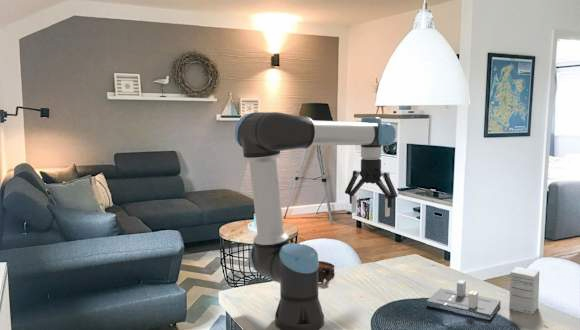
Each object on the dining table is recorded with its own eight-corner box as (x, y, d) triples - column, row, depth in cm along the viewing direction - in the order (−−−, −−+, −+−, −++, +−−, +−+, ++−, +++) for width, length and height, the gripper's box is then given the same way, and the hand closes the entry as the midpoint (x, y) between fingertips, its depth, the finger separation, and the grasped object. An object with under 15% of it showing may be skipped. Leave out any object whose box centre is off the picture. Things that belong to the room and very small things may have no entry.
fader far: (462, 296, 162) (462, 283, 162) (456, 295, 163) (456, 282, 163) (465, 293, 165) (465, 280, 164) (459, 292, 166) (459, 279, 166)
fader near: (474, 308, 152) (475, 294, 152) (468, 307, 153) (468, 293, 153) (477, 305, 155) (478, 291, 154) (471, 303, 156) (471, 290, 156)
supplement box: (514, 302, 163) (516, 266, 162) (538, 307, 158) (540, 270, 157) (508, 309, 157) (509, 271, 156) (533, 315, 153) (534, 276, 151)
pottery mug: (304, 280, 188) (309, 259, 191) (323, 287, 192) (328, 267, 195) (322, 281, 178) (327, 259, 181) (342, 288, 182) (346, 267, 185)
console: (489, 321, 148) (490, 315, 148) (426, 307, 159) (426, 301, 159) (500, 305, 160) (500, 299, 160) (440, 293, 172) (440, 287, 171)
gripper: (406, 159, 177) (405, 216, 179) (345, 156, 190) (345, 209, 192) (399, 160, 170) (398, 219, 173) (336, 157, 184) (336, 212, 186)
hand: (370, 214), depth 182 cm, fingers open, 13 cm apart
